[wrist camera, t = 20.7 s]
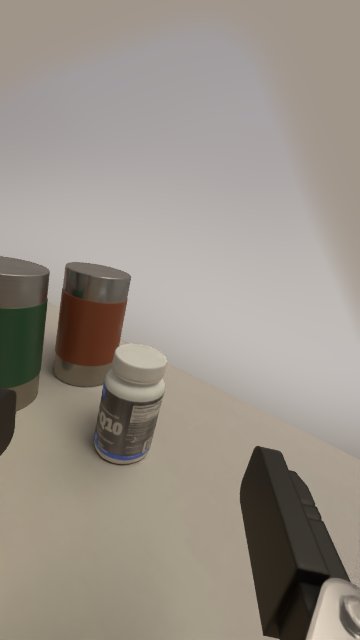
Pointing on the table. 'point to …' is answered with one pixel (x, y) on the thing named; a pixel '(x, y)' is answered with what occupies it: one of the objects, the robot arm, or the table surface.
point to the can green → (22, 326)
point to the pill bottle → (130, 403)
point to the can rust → (89, 322)
